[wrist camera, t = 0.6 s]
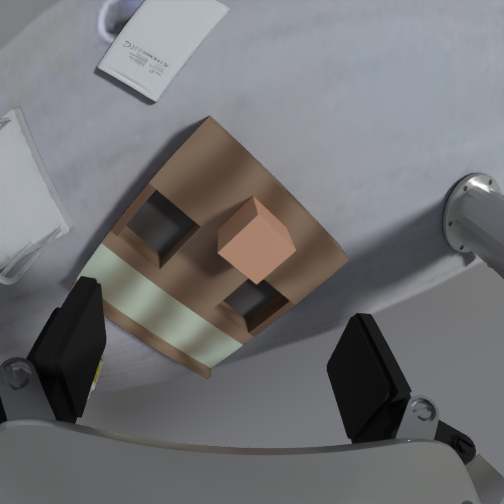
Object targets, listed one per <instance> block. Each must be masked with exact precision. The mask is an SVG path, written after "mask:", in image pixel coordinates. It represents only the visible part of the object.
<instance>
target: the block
mask: <svg viewBox="0 0 504 504" xmlns="http://www.w3.org/2000/svg"><path fill="white" fill-rule="evenodd" d="M295 251H296V249H295V246H294V244H293V242H292V239H291V237H290V235H289V232H288V230H287V228H286V227H285V226H284V225H283V224H282V223H281V222H280V221H279V220H278V219H277V218H276V217H275V216H274V215H273V214H272V213H271V212H270V211H268V210H267V209H266V208H265V207H264V206H263V205H262V204H261V203H260V202H259V201H258V200H257V199H256V198H255V197H254V196H253V197H251V198H250V199H249V200H248V201H247V202H246V203H245V204H244V205H243V206H242V207H241V208H240V209H239V210H238V211H237V212H236V213H235V214H234V215H233V216H232V217H231V218H230V219H229V220H228V221H227V222H225V223H224V224H223V225H222V226H221V227H220V228H219V229H218V254H220V255H221V256H222V257H223V258H224V259H226V260H227V261H228V262H229V263H231V264H232V265H233V266H234V267H236V268H237V269H238V270H239V271H240V272H242V273H243V274H244V275H245V276H247V277H248V278H249V279H250V280H252V281H253V282H254V283H255V284H258V283H259V282H260V281H262V280H263V279H264V278H265V277H266V276H267V275H269V274H270V273H271V272H272V271H273V270H274V269H276V268H277V267H278V266H279V265H280V264H281V263H283V262H284V261H285V260H286V259H287V258H288V257H289V256H291V255H292V254H293V253H294V252H295Z"/></svg>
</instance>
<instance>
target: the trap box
mask: <svg viewBox="0 0 504 504" xmlns="http://www.w3.org/2000/svg"><path fill="white" fill-rule="evenodd" d="M253 196H254V197H255V198H256V199H257V200H258V201H259V202H260V203H261V204H262V205H263V206H264V207H265V208H266V209H267V210H268V211H270V212H271V213H272V214H273V215H274V216H275V217H276V218H277V219H278V220H279V221H280V222H281V223H282V224H283V225H284V226H285V227H286V228H287V230H288V232H289V235H290V237H291V239H292V242H293V244H294V246H295V249H296V251H295V252H294V253H293V254H292V255H291V256H289V257H288V258H287V259H286V260H285V261H284V262H283V263H281V264H280V265H279V266H278V267H277V268H276V269H274V270H273V271H272V272H271V273H270V274H269V275H267V276H266V277H265V278H264V279H263V280H262V281H260V282H259V283H258V284H255V283H254V282H253V281H252V280H250V279H249V278H248V277H247V276H245V275H244V274H243V273H242V272H240V271H239V270H238V269H237V268H236V267H234V266H233V265H232V264H231V263H229V262H228V261H227V260H226V259H224V258H223V257H222V256H221V255H220V254H218V229H219V228H220V227H221V226H222V225H223V224H224V223H225V222H227V221H228V220H229V219H230V218H231V217H232V216H233V215H234V214H235V213H236V212H237V211H238V210H239V209H240V208H241V207H242V206H243V205H244V204H245V203H246V202H247V201H248V200H249V199H250V198H251V197H253ZM348 261H350V260H349V259H348V257H347V256H346V254H345V253H344V251H343V250H342V248H341V247H340V245H339V244H338V243H337V242H336V241H335V240H334V239H333V237H332V236H331V235H330V234H329V233H328V232H327V231H326V230H325V229H324V228H323V227H322V226H321V225H320V224H319V222H318V221H317V220H316V219H315V218H314V217H313V216H312V215H311V214H310V213H309V212H308V211H307V210H306V209H305V208H304V207H303V206H302V205H301V204H300V203H299V202H298V200H297V199H296V198H295V197H294V196H293V195H292V194H291V193H290V192H289V191H288V190H287V189H286V188H285V187H284V186H283V185H282V184H281V183H280V182H279V181H278V180H277V179H276V178H275V177H274V176H273V175H272V174H271V173H270V172H269V171H268V170H267V169H266V168H265V167H264V166H263V165H262V164H261V163H260V162H259V161H258V160H257V159H256V158H254V157H253V156H252V155H251V154H250V153H249V152H248V151H247V150H246V149H245V148H244V147H243V146H242V145H241V144H240V143H239V142H238V141H237V140H236V139H235V138H234V137H232V136H231V135H230V134H229V133H228V132H227V131H226V130H225V129H224V128H223V127H222V126H221V125H220V124H218V123H217V122H216V121H215V120H214V119H213V118H212V117H211V116H209V117H208V118H207V119H206V120H205V121H204V122H203V123H202V124H201V125H200V126H199V127H198V128H197V129H196V130H195V131H194V132H193V133H192V134H191V135H190V137H189V138H188V139H187V140H186V141H185V142H184V143H183V144H182V145H181V146H180V147H179V148H178V149H177V151H176V152H175V153H174V154H173V155H172V156H171V157H170V158H169V159H168V161H167V162H166V163H165V164H164V165H163V166H162V167H161V169H160V170H159V171H158V172H157V173H156V174H155V175H154V177H153V178H152V179H151V180H150V181H149V182H148V184H147V185H146V186H145V187H144V188H143V190H142V191H141V192H140V193H139V195H138V196H137V197H136V198H135V199H134V201H133V202H132V203H131V204H130V206H129V207H128V208H127V209H126V211H125V212H124V213H123V214H122V216H121V217H120V218H119V220H118V221H117V222H116V224H115V225H114V226H113V227H112V229H111V230H110V231H109V233H108V234H107V235H106V237H105V238H104V239H103V241H102V242H101V244H100V245H99V246H98V248H97V249H96V250H95V252H94V253H93V255H92V256H91V257H90V259H89V260H88V262H87V263H86V265H85V266H84V268H83V269H82V271H81V272H80V274H79V275H78V277H77V278H76V280H75V282H74V283H73V285H72V286H71V288H70V289H69V290H72V289H73V287H74V286H75V284H76V282H77V281H78V279H79V278H80V277H81V276H85V277H91V278H95V279H96V280H97V283H100V284H101V287H102V300H103V311H104V315H105V316H106V317H108V318H109V319H110V320H112V321H113V322H115V323H116V324H118V325H119V326H121V327H122V328H124V329H125V330H127V331H128V332H130V333H131V334H133V335H134V336H136V337H137V338H139V339H140V340H142V341H144V342H145V343H147V344H148V345H150V346H151V347H153V348H155V349H156V350H158V351H160V352H161V353H163V354H164V355H166V356H168V357H169V358H171V359H173V360H175V361H176V362H178V363H180V364H181V365H183V366H185V367H187V368H188V369H190V370H192V371H194V372H195V373H197V374H199V375H201V376H203V377H205V378H206V379H208V378H209V377H211V368H212V367H214V366H215V365H217V364H218V363H219V362H221V361H222V360H224V359H225V358H226V357H228V356H229V355H230V354H232V353H233V352H235V351H236V350H237V349H239V348H240V347H241V346H243V345H244V344H245V343H247V342H248V341H249V340H251V339H252V338H253V337H255V336H256V335H257V334H259V333H260V332H261V331H263V330H264V329H265V328H267V327H268V326H269V325H271V324H272V323H273V322H274V321H276V320H277V319H278V318H280V317H281V316H282V315H283V314H285V313H286V312H287V311H289V310H290V309H291V308H292V307H294V306H295V305H296V304H297V303H299V302H300V301H301V300H302V299H304V298H305V297H306V296H307V295H309V294H310V293H311V292H312V291H314V290H315V289H316V288H317V287H318V286H320V285H321V284H322V283H323V282H325V281H326V280H327V279H328V278H329V277H331V276H332V275H333V274H334V273H335V272H337V271H338V270H339V269H340V268H341V267H343V266H344V265H345V264H346V263H347V262H348Z"/></svg>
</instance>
